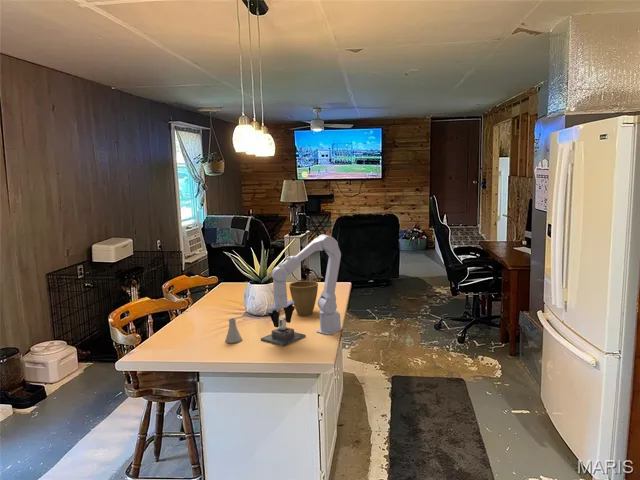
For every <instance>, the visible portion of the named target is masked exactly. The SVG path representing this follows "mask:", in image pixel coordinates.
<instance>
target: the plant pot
mask: <svg viewBox="0 0 640 480" xmlns="http://www.w3.org/2000/svg"><path fill="white" fill-rule="evenodd" d="M288 287H289V292H290V293H289V294H290V296H291V300H292V301H294V305H293V306H294V307H295V309H294V310H295V311H296V314H297V315H298V316H301V317H308V316H311V315H312V314H313V311H314V308H315V305H316V300H317V296H318V290H319V282H317V281H313V280H300V281H299V280H298V281H294V282H291V283H289V284H288Z"/></svg>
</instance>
